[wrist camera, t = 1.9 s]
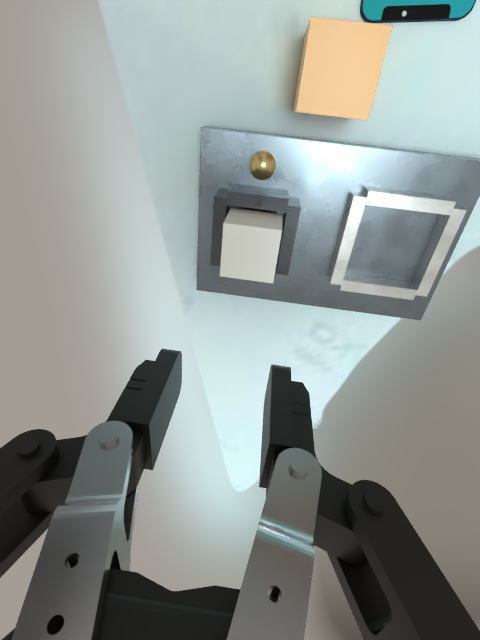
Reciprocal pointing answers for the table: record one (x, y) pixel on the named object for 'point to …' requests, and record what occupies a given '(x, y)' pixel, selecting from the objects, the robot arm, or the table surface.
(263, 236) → the button
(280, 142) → the grey control panel
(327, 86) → the cap
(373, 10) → the smartphone
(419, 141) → the table surface
